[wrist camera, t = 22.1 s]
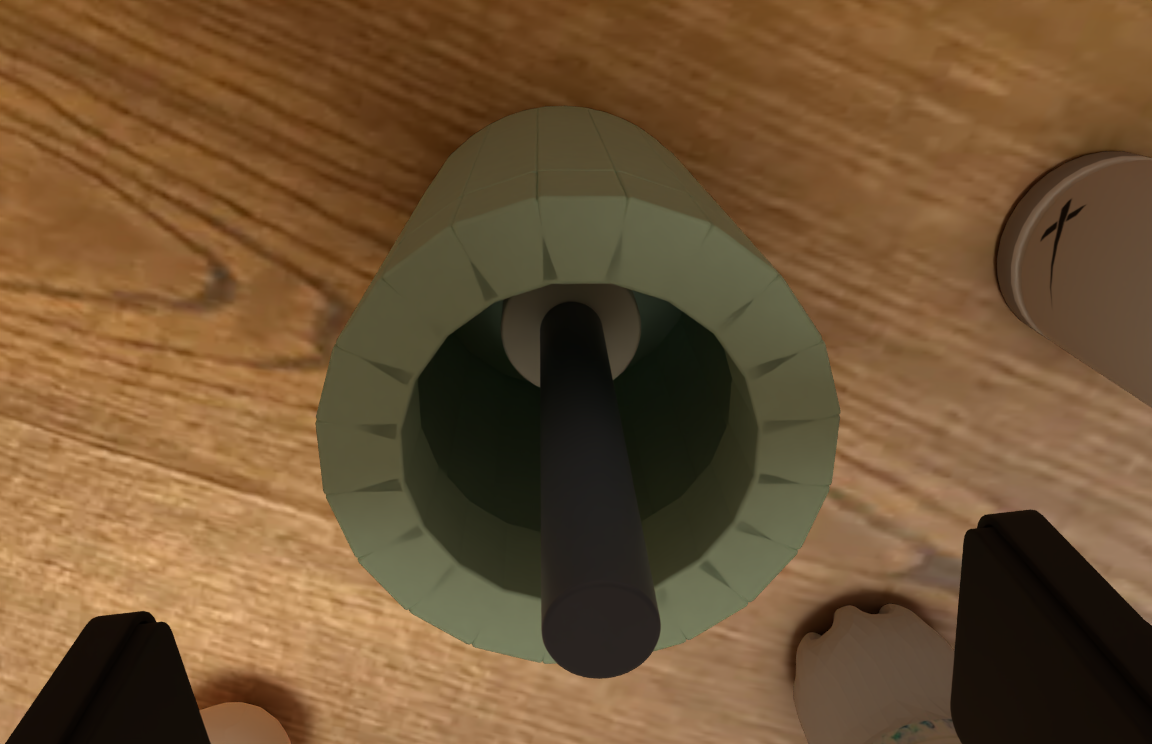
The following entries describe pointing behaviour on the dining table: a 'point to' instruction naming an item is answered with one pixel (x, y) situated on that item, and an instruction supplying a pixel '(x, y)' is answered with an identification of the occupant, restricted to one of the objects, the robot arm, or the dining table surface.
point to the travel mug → (1087, 264)
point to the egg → (242, 725)
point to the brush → (585, 476)
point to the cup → (512, 404)
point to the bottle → (875, 680)
